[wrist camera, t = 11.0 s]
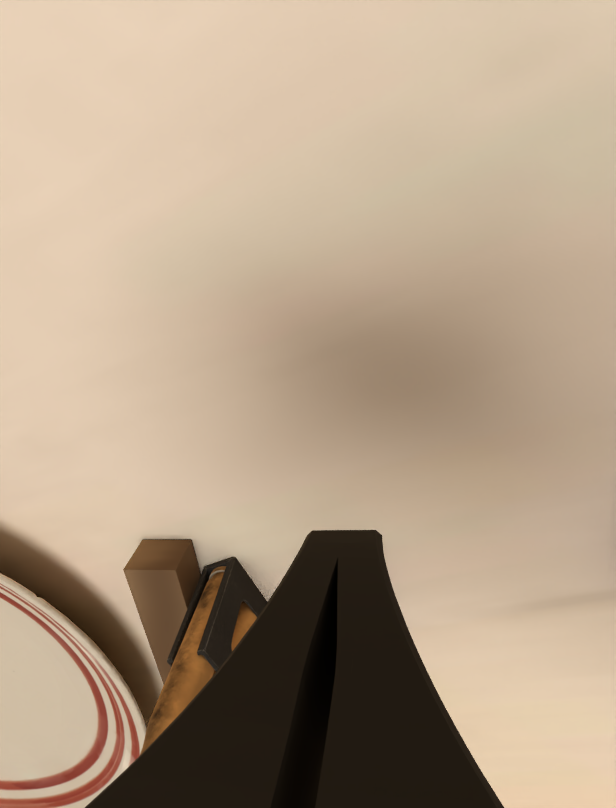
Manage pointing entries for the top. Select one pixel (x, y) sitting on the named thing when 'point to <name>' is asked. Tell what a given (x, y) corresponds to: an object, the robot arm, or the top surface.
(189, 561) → the guide rails
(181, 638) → the ammunition clip
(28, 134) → the top surface
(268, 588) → the top surface
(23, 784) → the dinner plate
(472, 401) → the top surface
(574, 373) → the top surface
